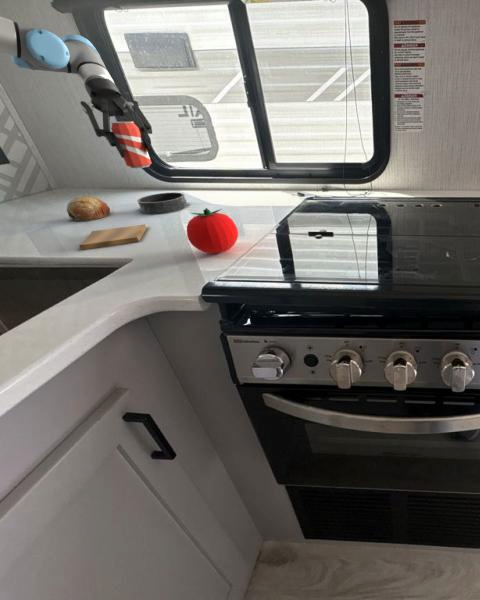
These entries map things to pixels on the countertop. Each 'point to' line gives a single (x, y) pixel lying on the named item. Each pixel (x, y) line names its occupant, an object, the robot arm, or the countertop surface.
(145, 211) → the pan
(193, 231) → the tomato
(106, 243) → the board
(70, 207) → the bread roll
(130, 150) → the beverage can
